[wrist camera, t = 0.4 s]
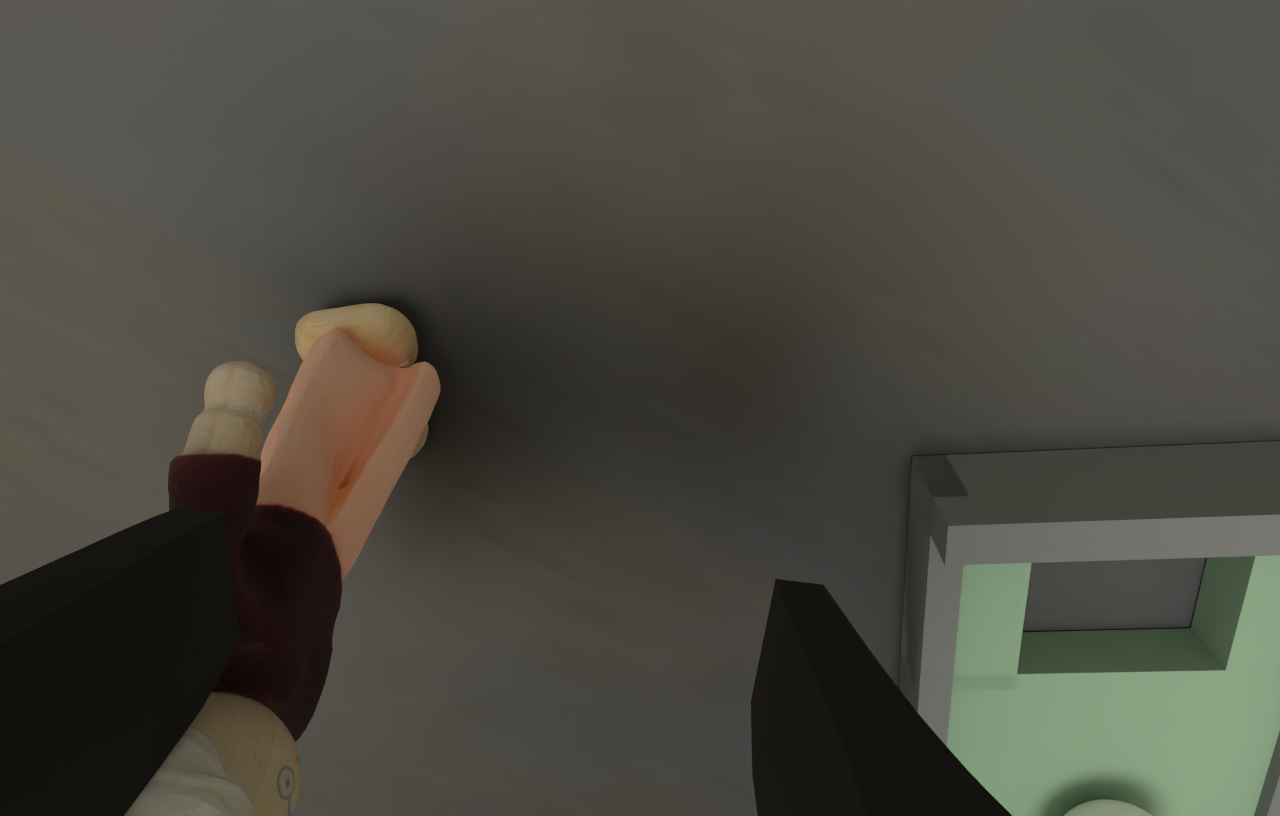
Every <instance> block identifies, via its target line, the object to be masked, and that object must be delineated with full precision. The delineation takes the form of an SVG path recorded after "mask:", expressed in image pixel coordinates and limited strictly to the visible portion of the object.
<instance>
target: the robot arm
mask: <svg viewBox="0 0 1280 816" xmlns="http://www.w3.org/2000/svg"><path fill="white" fill-rule="evenodd" d="M239 640H240V633H239V625H238V617H237V609H236V600H235V592H234V584H233V575H232V567H231V559H230V551H229V542H228V534H227V526H226V518H225V513H219V512H211V511H202V510H194V509H186V508H177V509H174V510H171V511H169V512H166V513H163V514H160V515H158V516H155V517H153V518H150V519H148V520H145V521H143V522H141V523H138V524H136V525H134V526H131V527H129V528H127V529H124V530H122V531H120V532H118V533H115V534H113V535H111V536H109V537H106V538H104V539H102V540H100V541H97V542H95V543H93V544H91V545H89V546H86V547H84V548H82V549H80V550H78V551H75V552H73V553H71V554H69V555H66V556H64V557H62V558H60V559H58V560H55V561H53V562H51V563H49V564H46V565H44V566H42V567H40V568H37V569H35V570H33V571H31V572H29V573H26V574H24V575H22V576H20V577H17V578H15V579H13V580H11V581H8V582H6V583H4V584H2V585H0V816H124V815H125V814H126V813H127V811H128V810H129V808H130V807H131V806H132V804H133V803H134V802H135V800H136V799H137V798H138V796H139V795H140V794H141V792H142V791H143V790H144V788H145V787H146V785H147V784H148V783H149V781H150V780H151V779H152V777H153V776H154V775H155V773H156V772H157V771H158V769H159V768H160V766H161V765H162V764H163V762H164V761H165V760H166V758H167V757H168V755H169V754H170V753H171V751H172V750H173V749H174V747H175V746H176V744H177V743H178V742H179V740H180V739H181V737H182V736H183V735H184V733H185V732H186V731H187V729H188V728H189V726H190V725H191V724H192V722H193V721H194V719H195V718H196V716H197V715H198V714H199V712H200V711H201V709H202V708H203V706H204V704H205V703H206V701H207V699H208V697H209V696H210V694H211V692H212V690H213V689H214V687H215V685H216V683H217V682H218V680H219V678H220V676H221V674H222V673H223V671H224V669H225V667H226V665H227V663H228V661H229V659H230V657H231V655H232V653H233V652H234V650H235V648H236V646H237V644H238V642H239ZM751 728H752V770H753V782H754V790H755V798H756V805H757V813H758V816H1012V815H1011V814H1010V813H1009V812H1008V811H1007V810H1006V809H1005V808H1004V807H1003V806H1002V805H1001V804H1000V803H999V802H998V801H997V800H996V799H995V798H994V797H993V796H992V795H991V794H990V793H989V792H988V791H987V790H986V789H985V788H984V787H983V786H982V785H981V784H980V783H979V781H978V780H977V779H976V778H975V777H974V776H973V775H972V774H971V773H970V772H969V771H968V770H967V769H966V768H965V767H964V766H963V764H962V763H961V762H960V761H959V760H958V759H957V758H956V756H955V755H954V754H953V753H952V752H951V751H950V750H949V748H948V747H947V746H946V745H945V744H944V743H943V742H942V741H941V739H940V738H939V737H938V736H937V735H936V734H935V733H934V731H933V730H932V729H931V728H930V727H929V726H928V724H927V723H926V722H925V721H924V720H923V718H922V717H921V716H920V715H919V714H918V712H917V711H916V710H915V708H914V707H913V706H912V705H911V703H910V702H909V701H908V700H907V698H906V697H905V696H904V694H903V693H902V692H901V691H900V689H899V688H898V687H897V685H896V684H895V683H894V682H893V680H892V679H891V678H890V677H889V675H888V674H887V673H886V671H885V670H884V669H883V667H882V666H881V665H880V663H879V662H878V661H877V659H876V658H875V656H874V655H873V654H872V652H871V651H870V650H869V648H868V647H867V645H866V644H865V643H864V641H863V640H862V639H861V637H860V636H859V634H858V633H857V632H856V630H855V629H854V627H853V626H852V624H851V623H850V622H849V620H848V619H847V617H846V616H845V614H844V613H843V612H842V610H841V609H840V607H839V606H838V605H837V603H836V602H835V600H834V599H833V598H832V596H831V595H830V593H829V592H828V591H827V589H826V588H825V587H824V585H821V584H812V583H804V582H796V581H787V580H779V579H776V580H775V585H774V590H773V595H772V600H771V605H770V610H769V615H768V620H767V625H766V630H765V635H764V640H763V645H762V650H761V655H760V660H759V665H758V670H757V674H756V679H755V684H754V689H753V694H752V699H751Z"/></svg>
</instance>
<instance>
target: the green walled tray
mask: <svg viewBox="0 0 1280 816" xmlns="http://www.w3.org/2000/svg"><path fill="white" fill-rule="evenodd" d="M1175 558H1207V560H1206V565H1205V569H1204V573H1203V577H1202V582H1201V586H1200V590H1199V595H1198V599H1197V603H1196V607H1195V612H1194V616H1193V620H1192V625H1191V628H1183V629H1140V630H1097V631H1054V632H1023V624H1024V617H1025V609H1026V601H1027V594H1028V586H1029V579H1030V571H1031V564H1032V563H1043V562H1076V561H1109V560H1142V559H1175ZM898 688H899V689H900V691H901V692H902V693H903V694H904V696H905V697H906V698H907V700H908V701H909V702H910V703H911V705H912V706H913V707H914V708H915V710H916V711H917V712H918V714H919V715H920V716H921V717H922V718H923V720H924V721H925V722H926V723H927V724H928V726H929V727H930V728H931V729H932V730H933V731H934V733H935V734H936V735H937V736H938V737H939V738H940V739H941V741H942V742H943V743H944V744H945V745H946V746H947V747H948V748H949V750H950V751H951V752H952V753H953V754H954V755H955V756H956V758H957V759H958V760H959V761H960V762H961V763H962V764H963V766H964V767H965V768H966V769H967V770H968V771H969V772H970V773H971V774H972V775H973V776H974V777H975V778H976V779H977V780H978V781H979V783H980V784H981V785H982V786H983V787H984V788H985V789H986V790H987V791H988V792H989V793H990V794H991V795H992V796H993V797H994V798H995V799H996V800H997V801H998V802H999V803H1000V804H1001V805H1002V806H1003V807H1004V808H1005V809H1006V810H1007V811H1008V812H1009V813H1010V814H1011V815H1012V816H1064V815H1065V814H1066V813H1067V812H1069V811H1070V810H1071V809H1073V808H1074V807H1076V806H1077V805H1080V804H1082V803H1085V802H1088V801H1092V800H1100V799H1108V800H1118V801H1122V802H1126V803H1129V804H1132V805H1134V806H1137V807H1139V808H1141V809H1143V810H1145V811H1147V812H1148V813H1150V814H1151V815H1153V816H1280V441H1266V442H1242V443H1218V444H1194V445H1170V446H1146V447H1122V448H1098V449H1074V450H1050V451H1026V452H1002V453H978V454H954V455H930V456H912V467H911V484H910V501H909V518H908V535H907V552H906V569H905V585H904V602H903V619H902V636H901V653H900V670H899V687H898Z"/></svg>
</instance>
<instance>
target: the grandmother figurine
mask: <svg viewBox="0 0 1280 816" xmlns="http://www.w3.org/2000/svg"><path fill="white" fill-rule="evenodd" d="M295 343H296V348H297V351H298V353H299V355H300V357H301V359H302V360H303V362H302V364H301V366H300V368H299V370H298V372H297V375H296V377H295V380H294V382H293V384H292V386H291V388H290V391H289V394H288V397H287V399H286V401H285V403H284V405H283V407H282V409H281V411H280V413H279V415H278V417H277V419H276V421H275V423H274V424H273V426H272V428H271V430H270V432H269V434H268V437H267V439H266V441H265V444H264V447H263V443H264V429H263V425H262V423H263V420H264V419H265V417H266V416H267V415H268V413H269V412H270V410H271V408H272V406H273V404H274V402H275V396H276V385H275V382H274V380H273V378H272V376H271V375H270V374H269V373H268V371H267V370H265V369H264V368H263V367H261V366H259V365H257V364H255V363H253V362H249V361H245V360H238V361H230V362H227V363H224V364H221V365H219V366H218V367H216V368H215V369H214V370H213V371H212V372H211V373H210V375H209V377H208V379H207V381H206V385H205V390H204V400H205V408H204V411H203V412H202V413H201V414H200V415H198V416H197V418H196V419H195V420H194V422H193V425H192V428H191V431H190V434H189V437H188V440H187V443H186V446H185V449H184V451H183V453H182V454H181V455H180V456H177V457H175V458H174V459H173V460H172V461H171V463H170V469H169V478H168V490H169V511H171V510H174V509H177V508H186V509H194V510H202V511H211V512H219V513H225V518H226V526H227V534H228V542H229V551H230V559H231V567H232V575H233V584H234V592H235V600H236V609H237V617H238V625H239V633H240V640H239V642H238V644H237V646H236V648H235V650H234V652H233V653H232V655H231V657H230V659H229V661H228V663H227V665H226V667H225V669H224V671H223V673H222V674H221V676H220V678H219V680H218V682H217V683H216V685H215V687H214V689H213V690H212V692H211V694H210V696H209V697H208V699H207V701H206V703H205V704H204V706H203V708H202V709H201V711H200V712H199V714H198V715H197V716H196V718H195V719H194V721H193V722H192V724H191V725H190V726H189V728H188V729H187V731H186V732H185V733H184V735H183V736H182V737H181V739H180V740H179V742H178V743H177V744H176V746H175V747H174V749H173V750H172V751H171V753H170V754H169V755H168V757H167V758H166V760H165V761H164V762H163V764H162V765H161V766H160V768H159V769H158V771H157V772H156V773H155V775H154V776H153V777H152V779H151V780H150V781H149V783H148V784H147V785H146V787H145V788H144V790H143V791H142V792H141V794H140V795H139V796H138V798H137V799H136V800H135V802H134V803H133V804H132V806H131V807H130V808H129V810H128V811H127V813H126V814H125V815H124V816H292V815H293V812H294V809H295V806H296V802H297V798H298V793H299V785H300V761H299V754H298V748H297V746H296V744H295V742H296V741H297V740H298V739H299V738H300V737H301V735H302V733H303V732H304V730H305V729H306V728H307V725H308V723H309V722H310V720H311V718H312V717H313V714H314V712H315V709H316V706H317V704H318V701H319V698H320V696H321V693H322V690H323V687H324V685H325V681H326V677H327V674H328V670H329V664H330V659H331V654H332V637H333V629H334V624H335V621H336V617H337V614H338V611H339V609H340V602H341V594H342V580H343V579H344V578H345V576H346V575H347V574H348V573H349V571H350V570H351V568H352V566H353V565H354V563H355V561H356V559H357V558H358V556H359V554H360V552H361V550H362V548H363V546H364V544H365V542H366V540H367V538H368V536H369V534H370V532H371V530H372V528H373V527H374V525H375V523H376V521H377V519H378V517H379V515H380V513H381V511H382V509H383V508H384V506H385V504H386V502H387V500H388V498H389V496H390V494H391V492H392V490H393V488H394V486H395V485H396V483H397V481H398V479H399V477H400V475H401V474H402V472H403V470H404V468H405V466H406V465H407V463H408V461H409V459H410V458H412V457H414V456H415V455H416V454H417V453H418V452H419V451H420V450H421V448H422V447H423V446H424V444H425V442H426V439H427V435H428V427H429V426H428V421H429V419H430V416H431V414H432V411H433V409H434V406H435V404H436V402H437V400H438V397H439V395H440V389H441V386H440V381H439V377H438V375H437V372H436V370H435V368H434V367H433V366H432V365H430V364H429V363H427V362H425V361H424V362H421V363H416V364H414V362H415V361H416V359H417V354H418V344H417V337H416V333H415V330H414V328H413V326H412V324H411V323H410V322H409V320H408V319H407V318H406V317H405V316H404V315H403V314H402V313H400V312H399V311H397V310H396V309H394V308H392V307H388V306H385V305H383V304H376V303H366V304H359V305H350V306H345V307H339V308H331V309H324V310H320V311H314V312H310V313H308V314H306V315H305V316H303V317H302V318H301V319H300V320H299V321H298V323H297V325H296V329H295ZM413 364H414V365H413ZM262 447H263V450H262ZM261 452H262V453H261Z"/></svg>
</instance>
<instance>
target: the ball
mask: <svg viewBox="0 0 1280 816" xmlns="http://www.w3.org/2000/svg"><path fill="white" fill-rule="evenodd" d="M1064 816H1153V815H1151V814H1150V813H1148V812H1147V811H1145V810H1143V809H1141V808H1139V807H1137V806H1134V805H1132V804H1129V803H1126V802H1122V801H1118V800H1108V799H1100V800H1092V801H1088V802H1085V803H1082V804H1080V805H1077V806H1076V807H1074V808H1073V809H1071V810H1070V811H1069V812H1067V813H1066V814H1065V815H1064Z"/></svg>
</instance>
